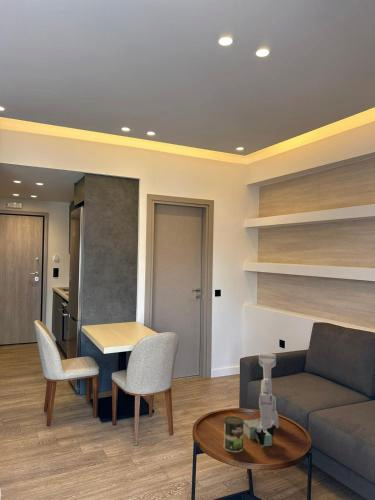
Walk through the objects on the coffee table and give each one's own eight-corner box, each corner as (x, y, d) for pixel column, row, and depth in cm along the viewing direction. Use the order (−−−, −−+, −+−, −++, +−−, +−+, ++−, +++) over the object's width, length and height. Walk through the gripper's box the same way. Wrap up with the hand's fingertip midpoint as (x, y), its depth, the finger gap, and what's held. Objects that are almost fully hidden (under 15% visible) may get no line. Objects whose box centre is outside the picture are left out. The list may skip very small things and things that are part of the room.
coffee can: (247, 450, 189) (247, 422, 189) (229, 454, 184) (230, 425, 185) (236, 441, 198) (237, 415, 199) (219, 445, 194) (220, 417, 195)
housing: (259, 429, 214) (259, 418, 214) (267, 437, 204) (268, 425, 204) (242, 431, 211) (242, 420, 211) (249, 439, 201) (249, 427, 202)
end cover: (262, 436, 204) (262, 427, 204) (271, 445, 194) (271, 435, 194) (254, 437, 203) (254, 428, 203) (262, 446, 193) (262, 436, 193)
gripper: (266, 410, 204) (266, 435, 203) (251, 417, 193) (251, 443, 193) (278, 413, 199) (278, 439, 198) (263, 421, 189) (263, 448, 188)
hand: (265, 442), depth 195 cm, fingers open, 7 cm apart
